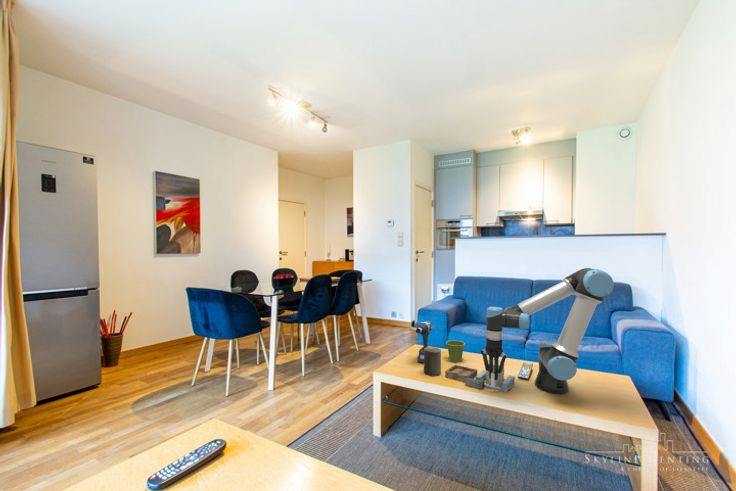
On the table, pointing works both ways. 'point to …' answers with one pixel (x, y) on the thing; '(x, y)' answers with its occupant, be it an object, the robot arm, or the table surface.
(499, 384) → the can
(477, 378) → the socket block
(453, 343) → the plant pot
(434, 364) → the pillar candle
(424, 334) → the impact wrench
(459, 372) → the tray
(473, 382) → the grey t-shaped block
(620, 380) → the table surface
